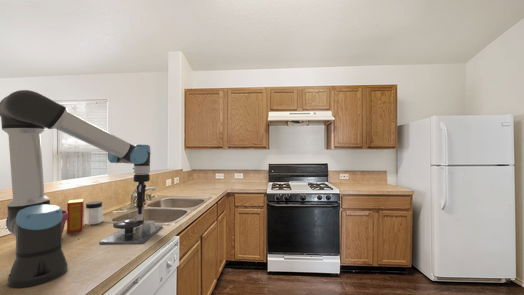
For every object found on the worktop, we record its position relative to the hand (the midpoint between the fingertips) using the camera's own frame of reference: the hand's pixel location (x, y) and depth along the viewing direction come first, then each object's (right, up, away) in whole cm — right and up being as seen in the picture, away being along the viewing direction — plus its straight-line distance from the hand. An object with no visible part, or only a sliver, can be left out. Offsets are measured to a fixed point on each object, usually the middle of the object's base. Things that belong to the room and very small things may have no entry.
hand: (140, 218), depth 124 cm
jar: (-38, -8, +20) cm, 44 cm away
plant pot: (-40, -8, -8) cm, 42 cm away
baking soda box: (-40, -8, +8) cm, 41 cm away
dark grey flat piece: (-3, -8, -1) cm, 8 cm away
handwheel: (-5, -7, +1) cm, 8 cm away
